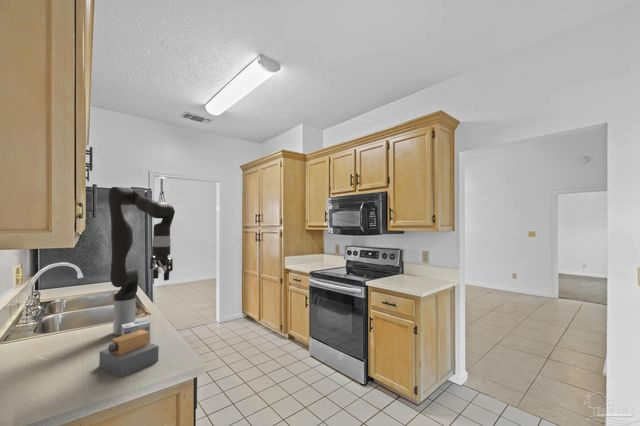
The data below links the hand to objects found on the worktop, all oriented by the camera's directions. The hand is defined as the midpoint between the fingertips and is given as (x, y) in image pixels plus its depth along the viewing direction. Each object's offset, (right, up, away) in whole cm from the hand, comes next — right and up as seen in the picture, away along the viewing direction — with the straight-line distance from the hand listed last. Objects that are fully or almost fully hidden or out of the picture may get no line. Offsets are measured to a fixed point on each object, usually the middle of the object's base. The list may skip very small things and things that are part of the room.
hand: (160, 279), depth 137 cm
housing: (-1, -23, -20) cm, 31 cm away
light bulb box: (-8, -30, -6) cm, 32 cm away
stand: (-1, -29, -21) cm, 36 cm away
